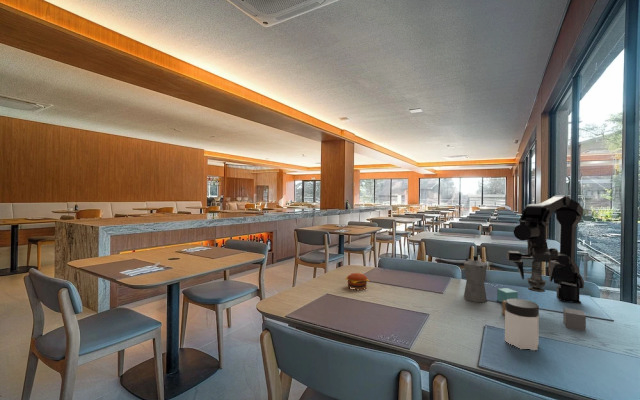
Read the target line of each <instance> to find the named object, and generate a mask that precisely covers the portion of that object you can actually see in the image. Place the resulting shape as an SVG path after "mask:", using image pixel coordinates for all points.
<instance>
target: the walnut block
mask: <svg viewBox="0 0 640 400" xmlns="http://www.w3.org/2000/svg"><path fill="white" fill-rule="evenodd" d="M505 303H506V300H502V303H501V307H502V309H501V312H502V313H501V314H502V315H503V316H505V310H506V307H505Z"/></svg>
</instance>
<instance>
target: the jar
mask: <svg viewBox="0 0 640 400" xmlns="http://www.w3.org/2000/svg"><path fill="white" fill-rule="evenodd" d="M505 307H506V310H505V315H504V342H505V341H506V342H508V343H509V344H508V343H507V344H508V345H510V344H511V345H510V346H512V345H514V346H516V347H518V348H520V349H519V350H522V349H532V350H531V351H535V350H537V351H538V347H539V344H540V343H539V342H540V341H539V340H540V338H539V337H540V335H539V334H540V330H539V328H540V318H539V317H540V313H539V312H540V305H539V304H538V303H536V302H534V301H531V300H528V299H522V298H518V299H507V300H506V303H505ZM506 342H505V343H506ZM514 346H513V347H514ZM516 347H515V348H516ZM518 348H517V349H518Z"/></svg>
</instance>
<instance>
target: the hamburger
mask: <svg viewBox="0 0 640 400" xmlns="http://www.w3.org/2000/svg"><path fill="white" fill-rule="evenodd" d="M344 280H347V288H348V287H351V288H355V289H364V288H366V287H368V285H367V284H368V282H370V280H369V279H368V276H366V275H365V274H363V273H359V272H354V273H351V274H349V275H348V276H347V277H345V278H344ZM366 289H367V288H366ZM364 290H365V289H364Z"/></svg>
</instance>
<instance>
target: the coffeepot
mask: <svg viewBox="0 0 640 400" xmlns="http://www.w3.org/2000/svg"><path fill="white" fill-rule="evenodd" d="M472 257H473V259H471V258H469V257H468V258H465V261H464V260H463V266H464V273H465V279H466V280H465V281H466V282H465V286H464V292H463V298H464V299H465V300H467V301H470V302H475V303H485V302H487V301H488V299H487V292H486V286H485V280H486V276H487V270H488V269H487V268H488V263H487V262H483V261H481V260H478V256H476V255H474V256H472Z"/></svg>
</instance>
